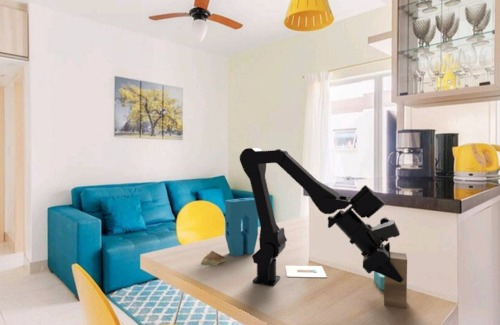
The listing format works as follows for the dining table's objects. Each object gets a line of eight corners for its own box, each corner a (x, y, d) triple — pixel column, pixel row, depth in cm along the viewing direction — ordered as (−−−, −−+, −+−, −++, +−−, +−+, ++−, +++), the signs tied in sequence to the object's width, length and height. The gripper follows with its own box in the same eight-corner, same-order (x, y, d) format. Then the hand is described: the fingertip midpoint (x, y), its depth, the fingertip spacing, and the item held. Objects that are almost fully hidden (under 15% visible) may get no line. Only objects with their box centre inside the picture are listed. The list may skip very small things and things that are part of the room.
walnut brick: (406, 308, 78) (407, 259, 77) (384, 304, 80) (384, 257, 79) (405, 299, 82) (406, 253, 82) (384, 296, 84) (384, 251, 84)
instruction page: (327, 277, 96) (327, 276, 96) (287, 277, 97) (287, 276, 97) (321, 266, 105) (321, 265, 105) (285, 266, 106) (285, 265, 106)
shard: (211, 254, 119) (211, 249, 119) (231, 256, 117) (231, 251, 117) (200, 264, 108) (200, 259, 108) (222, 266, 107) (222, 261, 107)
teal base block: (402, 290, 87) (403, 278, 87) (380, 289, 88) (380, 277, 88) (395, 281, 93) (395, 269, 93) (373, 280, 94) (374, 268, 94)
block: (251, 248, 125) (251, 197, 124) (258, 251, 120) (258, 199, 120) (224, 253, 118) (224, 200, 117) (231, 257, 114) (230, 202, 113)
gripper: (378, 216, 73) (433, 271, 69) (379, 203, 90) (423, 247, 86) (342, 246, 76) (392, 300, 72) (350, 228, 93) (390, 271, 90)
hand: (401, 277), depth 80 cm, fingers closed on walnut brick, 5 cm apart
